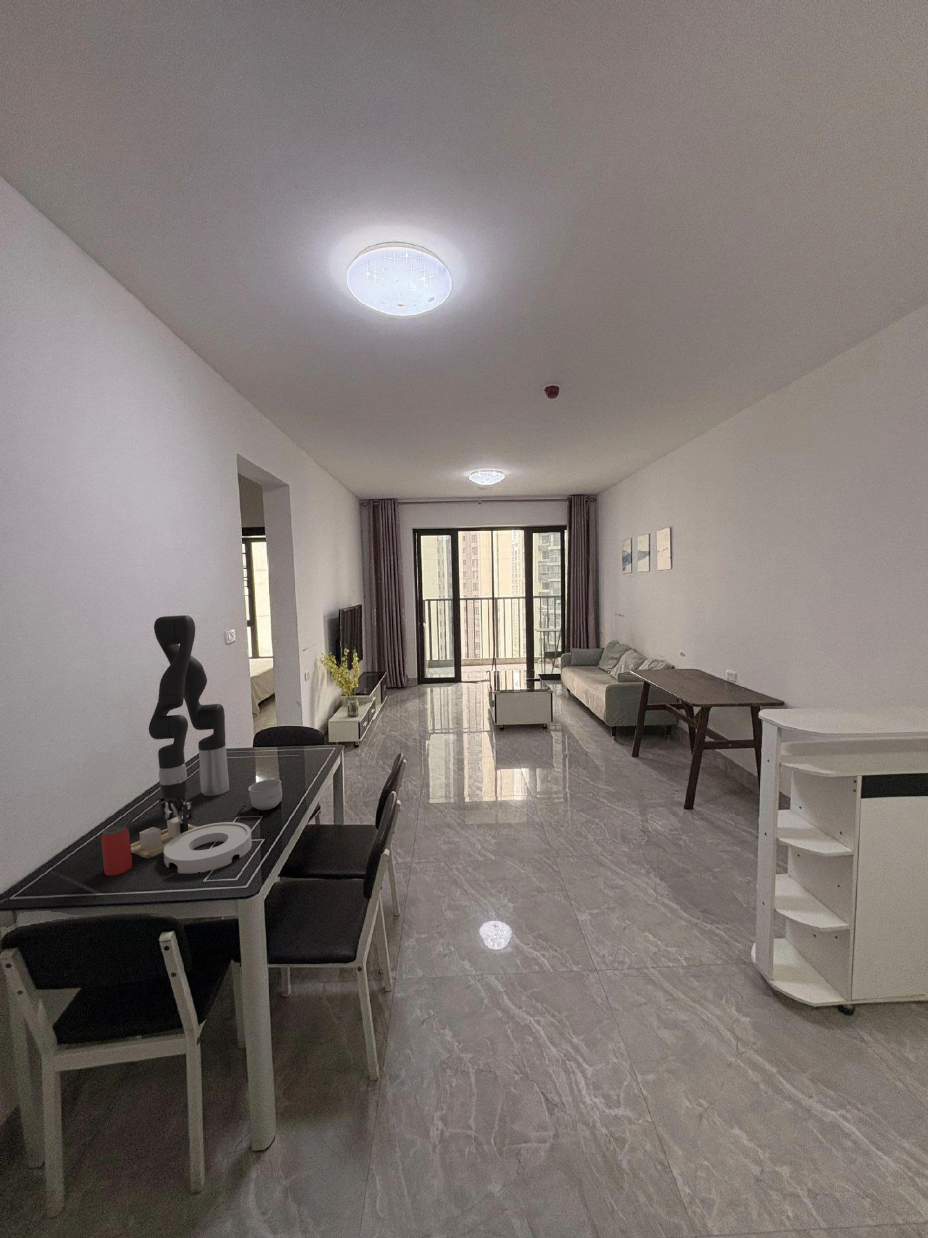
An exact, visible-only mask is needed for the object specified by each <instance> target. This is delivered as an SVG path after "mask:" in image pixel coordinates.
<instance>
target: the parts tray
mask: <svg viewBox="0 0 928 1238" xmlns="http://www.w3.org/2000/svg"><path fill="white" fill-rule="evenodd" d="M197 827H198V826H196V825H192V824H189V823H188V830H191V829H193V828H197ZM172 839H173V838H172V837H169V836H168V828H166V829H163V830H161V840H162V846H160V847H158V848H155V849H153V850H151V851H146V850H143V849H141V844H140V840H137V841H135V842H133V843H130V844H131V854H135V855H137V856H140V857H142V858H145V859H150V858H153V857H155V856H158V855H159V854H161V853H164V847H165V846H166V845H167V843H168V842H169V841H171V840H172Z"/></svg>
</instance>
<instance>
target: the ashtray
mask: <svg viewBox="0 0 928 1238" xmlns="http://www.w3.org/2000/svg"><path fill="white" fill-rule="evenodd" d="M196 827H197V828H193V829H191V830H188V831H186V832H183V833H182V834H180V835H178V836H176V837H174V838H173V839H172V840H171V841H169V842H168V843H167V845H166V846H165V847H164V852H163V862H164V864H165V866H166V868H170V866H171V864H175V865H176V866H177V873H178V874H199V873H198V872H200V873H205V872H208V871H209V870H210V871H213V870H217V869H219V868H223V867H225V866H228V865H229V864H232V861H233V858H234V856H235V855H239V857H238V858H239V859H241V858H243V857H244V856H245V855H246V854H247V853H248V852H249V851H250V850H251V848H252V845H253V841H252V830H251V827H250V826H248V825H246V824H245V823H242V822H236V821H235V822H234V821H224V822H215V823H210V824H209V823H208V824H204V825H201V826H196ZM213 842H223V843H221V844H220V845H217V846H215V847H212V848H209V849H208V848H207V849H202V850H201V849H200V850H199V849H198V850H196V848H198V847H200V846H202V845H206V844H209V843H213Z"/></svg>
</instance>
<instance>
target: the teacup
mask: <svg viewBox="0 0 928 1238" xmlns="http://www.w3.org/2000/svg"><path fill="white" fill-rule="evenodd" d="M247 789H248V794H249V800H250V803H251V804H250V805H252V807H253V808H255V809H257V810H258V811H269V810H272V809H273V808H275V807H277V806H278V805H279V803H281V801H282V799H283V789H282V780H280V779H278V778H277V779H276V777H270V779H264V780H260V781H258V782H255V783H252V784H251V785H249V787H248V788H247Z"/></svg>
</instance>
